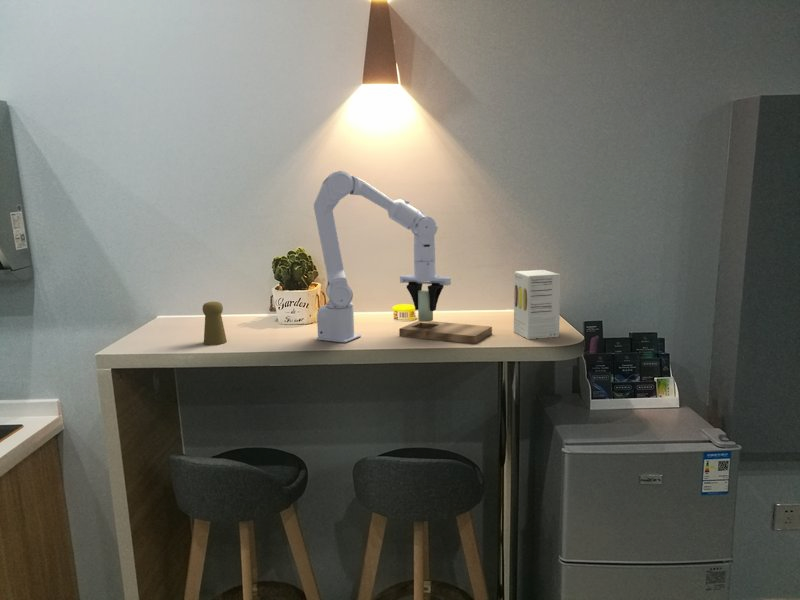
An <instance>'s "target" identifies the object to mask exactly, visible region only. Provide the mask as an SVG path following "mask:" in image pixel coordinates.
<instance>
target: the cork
mask: <svg viewBox="0 0 800 600" xmlns="http://www.w3.org/2000/svg"><path fill="white" fill-rule="evenodd" d="M223 311H224V308H223V304H222V303H221V302H220V301H208V302H205V303H204V304H203V305H202V314H203V315H204V332H203V345H205V346H219V345H224V344H226V343H227V336H226V332H225V331H226V330H225V326H224V322H223V317H222V314H223Z"/></svg>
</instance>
